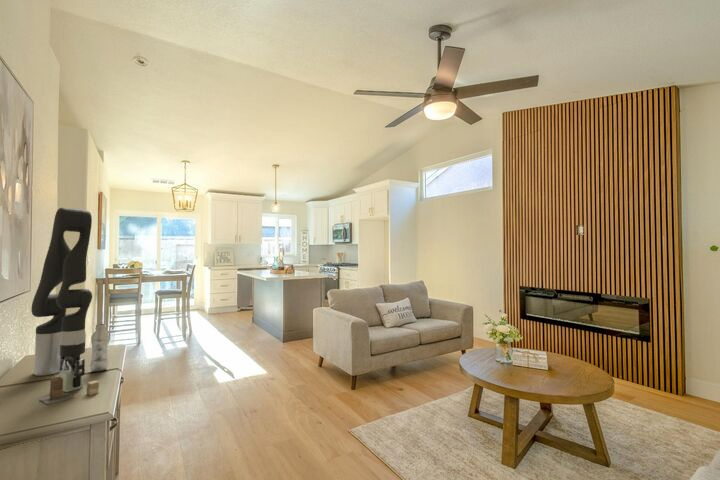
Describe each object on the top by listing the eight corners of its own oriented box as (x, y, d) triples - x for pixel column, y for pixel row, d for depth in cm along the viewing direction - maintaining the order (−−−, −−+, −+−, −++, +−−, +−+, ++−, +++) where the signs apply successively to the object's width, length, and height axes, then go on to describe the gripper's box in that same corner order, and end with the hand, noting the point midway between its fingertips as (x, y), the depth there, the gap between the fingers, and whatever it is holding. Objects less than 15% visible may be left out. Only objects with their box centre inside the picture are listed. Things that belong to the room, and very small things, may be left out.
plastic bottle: (98, 374, 148) (100, 326, 149) (85, 372, 149) (87, 325, 150) (112, 369, 154) (113, 323, 155) (99, 367, 156) (101, 322, 156)
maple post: (86, 393, 128) (87, 382, 128) (94, 391, 130) (95, 380, 130) (90, 395, 126) (90, 384, 126) (98, 392, 129) (98, 381, 129)
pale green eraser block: (59, 389, 131) (60, 371, 132) (76, 384, 136) (76, 367, 136) (65, 392, 129) (66, 374, 129) (82, 387, 133) (83, 370, 133)
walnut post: (39, 400, 121) (40, 380, 122) (63, 393, 128) (64, 374, 128) (47, 405, 118) (48, 384, 118) (72, 397, 124) (73, 377, 124)
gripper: (52, 341, 133) (50, 384, 133) (69, 346, 126) (67, 392, 126) (76, 337, 140) (74, 378, 139) (93, 342, 133) (91, 385, 132)
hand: (71, 384), depth 132 cm, fingers open, 8 cm apart
